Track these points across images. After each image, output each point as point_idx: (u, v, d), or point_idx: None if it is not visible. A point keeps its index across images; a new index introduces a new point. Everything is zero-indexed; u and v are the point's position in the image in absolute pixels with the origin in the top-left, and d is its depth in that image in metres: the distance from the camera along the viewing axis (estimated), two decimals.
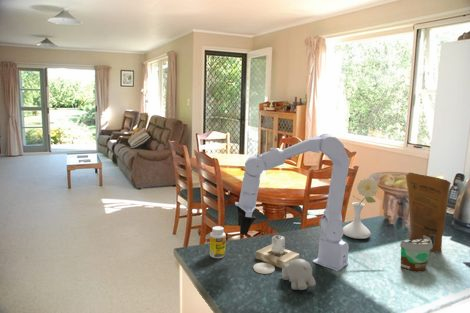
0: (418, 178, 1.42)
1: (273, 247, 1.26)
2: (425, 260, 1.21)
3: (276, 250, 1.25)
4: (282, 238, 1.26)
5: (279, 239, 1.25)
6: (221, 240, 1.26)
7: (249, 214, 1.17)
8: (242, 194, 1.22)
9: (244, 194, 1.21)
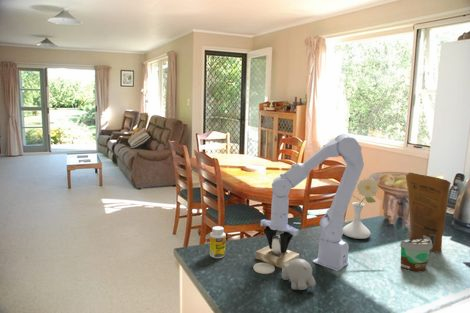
0: (418, 178, 1.42)
1: (273, 247, 1.26)
2: (425, 260, 1.21)
3: (276, 250, 1.25)
4: None
5: (279, 239, 1.25)
6: (221, 240, 1.26)
7: (297, 233, 1.21)
8: (279, 217, 1.23)
9: (281, 216, 1.22)
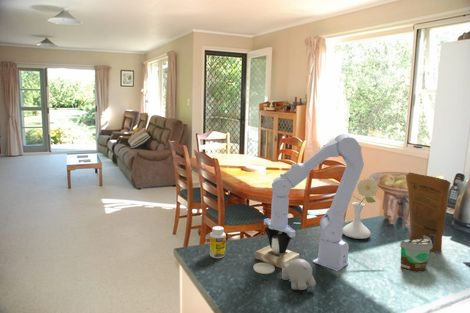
0: (418, 178, 1.42)
1: (272, 246, 1.26)
2: (425, 260, 1.21)
3: (274, 249, 1.25)
4: None
5: None
6: (221, 240, 1.26)
7: (293, 234, 1.20)
8: (277, 217, 1.23)
9: (279, 216, 1.22)
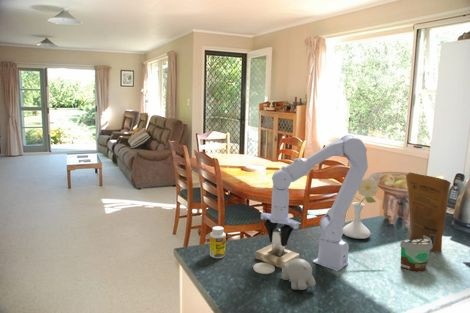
0: (418, 178, 1.42)
1: (273, 240, 1.25)
2: (425, 260, 1.21)
3: (276, 243, 1.25)
4: None
5: (279, 232, 1.25)
6: (221, 240, 1.26)
7: (297, 225, 1.21)
8: (279, 210, 1.22)
9: (282, 209, 1.22)
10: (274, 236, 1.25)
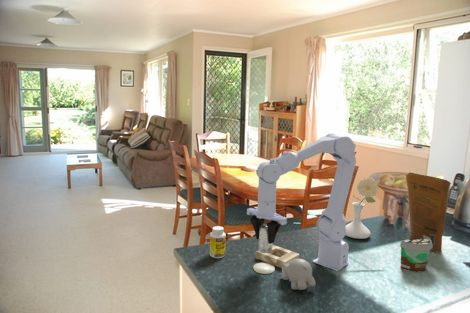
0: (418, 178, 1.42)
1: (260, 237, 1.18)
2: (425, 260, 1.21)
3: (263, 240, 1.17)
4: None
5: (267, 228, 1.17)
6: (221, 240, 1.26)
7: (285, 221, 1.13)
8: (266, 204, 1.14)
9: (268, 204, 1.14)
10: (261, 233, 1.17)
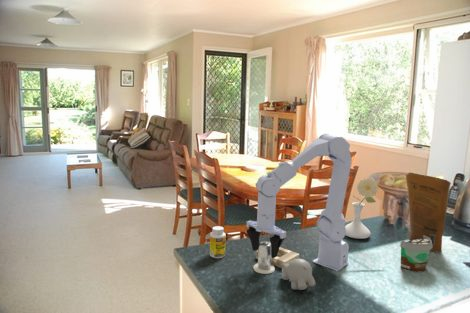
0: (418, 178, 1.42)
1: (260, 254, 1.19)
2: (425, 260, 1.21)
3: (263, 257, 1.18)
4: (269, 245, 1.19)
5: (266, 246, 1.18)
6: (221, 240, 1.26)
7: (284, 235, 1.14)
8: (265, 218, 1.15)
9: (268, 217, 1.15)
10: (260, 250, 1.18)
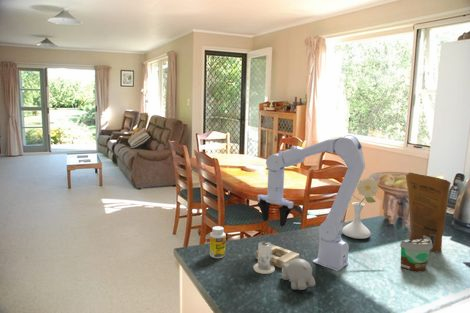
0: (418, 178, 1.42)
1: (259, 254, 1.19)
2: (425, 260, 1.21)
3: (262, 257, 1.18)
4: (269, 244, 1.19)
5: (266, 246, 1.18)
6: (221, 240, 1.26)
7: (292, 205, 1.28)
8: (275, 190, 1.29)
9: (277, 190, 1.29)
10: (260, 250, 1.18)
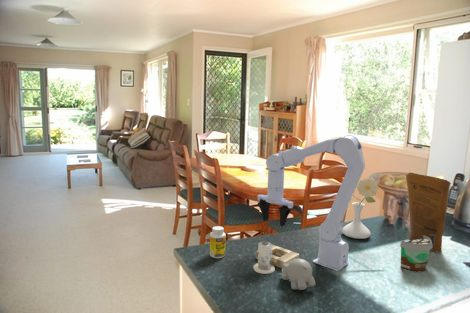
0: (418, 178, 1.42)
1: (259, 254, 1.19)
2: (425, 260, 1.21)
3: (262, 257, 1.18)
4: (269, 244, 1.19)
5: (266, 246, 1.18)
6: (221, 240, 1.26)
7: (292, 205, 1.28)
8: (275, 190, 1.29)
9: (277, 190, 1.29)
10: (260, 250, 1.18)
